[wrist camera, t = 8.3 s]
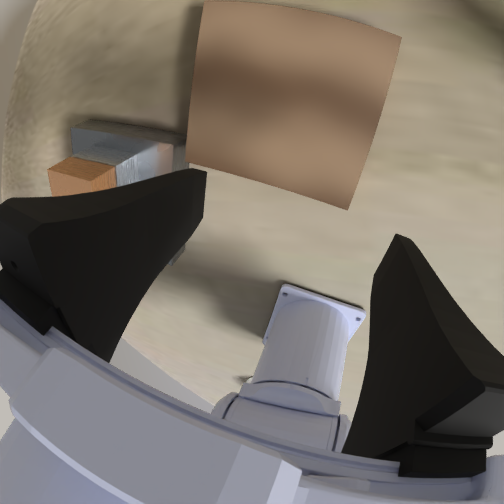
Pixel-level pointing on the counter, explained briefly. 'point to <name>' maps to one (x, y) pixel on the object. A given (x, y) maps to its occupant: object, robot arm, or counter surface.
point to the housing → (93, 171)
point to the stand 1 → (136, 148)
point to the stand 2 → (288, 96)
